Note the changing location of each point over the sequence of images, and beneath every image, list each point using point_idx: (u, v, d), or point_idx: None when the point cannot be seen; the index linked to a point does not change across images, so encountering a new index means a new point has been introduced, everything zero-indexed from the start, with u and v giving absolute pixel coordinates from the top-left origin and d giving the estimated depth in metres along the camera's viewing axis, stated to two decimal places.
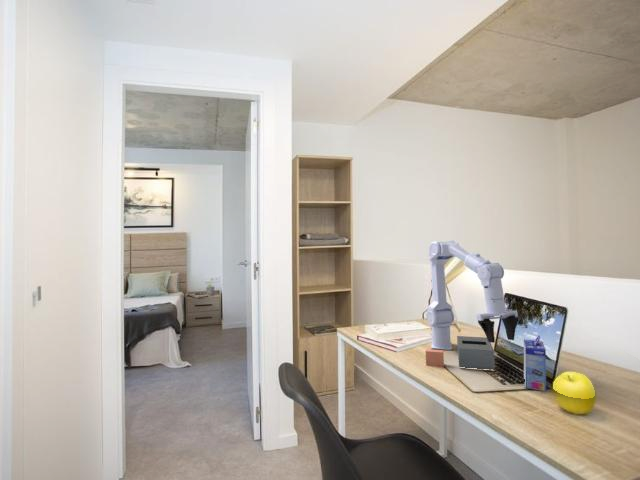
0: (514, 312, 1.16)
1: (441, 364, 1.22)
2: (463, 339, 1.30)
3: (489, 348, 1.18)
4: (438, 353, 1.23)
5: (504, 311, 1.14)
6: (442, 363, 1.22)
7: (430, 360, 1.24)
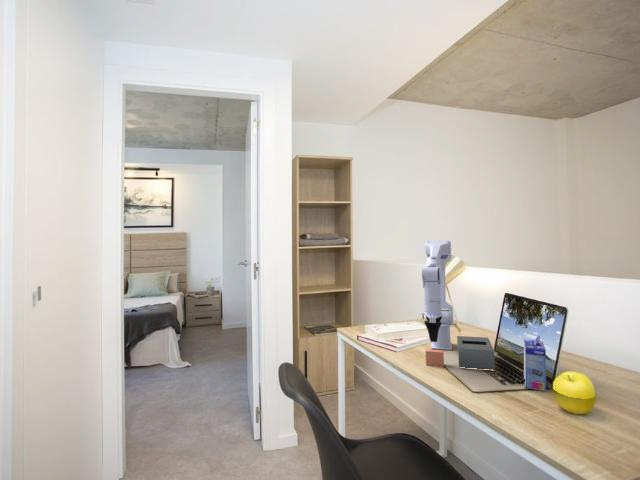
0: (429, 317, 1.19)
1: (441, 364, 1.22)
2: (463, 339, 1.30)
3: (489, 348, 1.18)
4: (438, 353, 1.23)
5: (425, 311, 1.25)
6: (442, 363, 1.22)
7: (430, 360, 1.24)
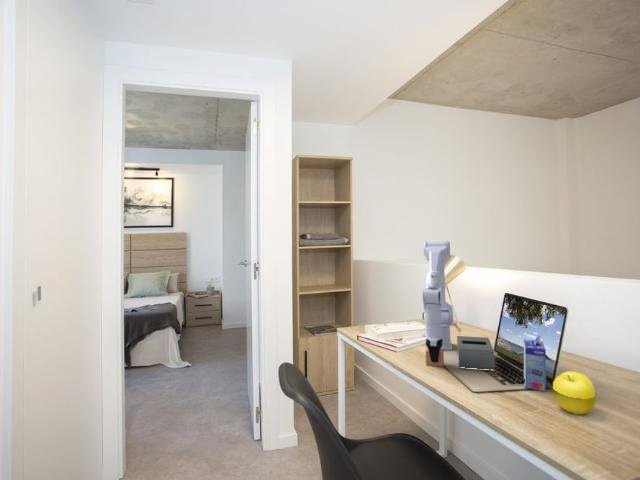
0: (429, 340, 1.19)
1: (441, 364, 1.22)
2: (463, 339, 1.30)
3: (489, 348, 1.18)
4: None
5: None
6: (442, 363, 1.22)
7: (430, 360, 1.24)
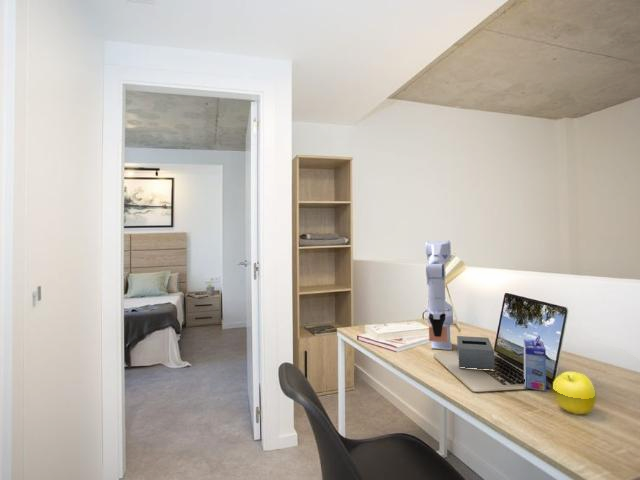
0: (433, 314, 1.19)
1: (444, 339, 1.22)
2: (463, 339, 1.30)
3: (489, 348, 1.18)
4: None
5: (428, 308, 1.25)
6: (445, 338, 1.22)
7: (433, 336, 1.24)
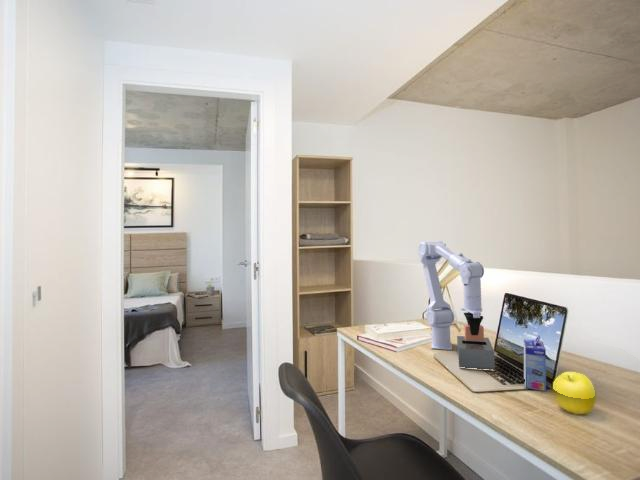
0: (472, 312, 1.20)
1: (481, 338, 1.24)
2: (463, 339, 1.30)
3: (489, 348, 1.18)
4: None
5: (465, 307, 1.25)
6: (482, 337, 1.24)
7: (470, 335, 1.25)
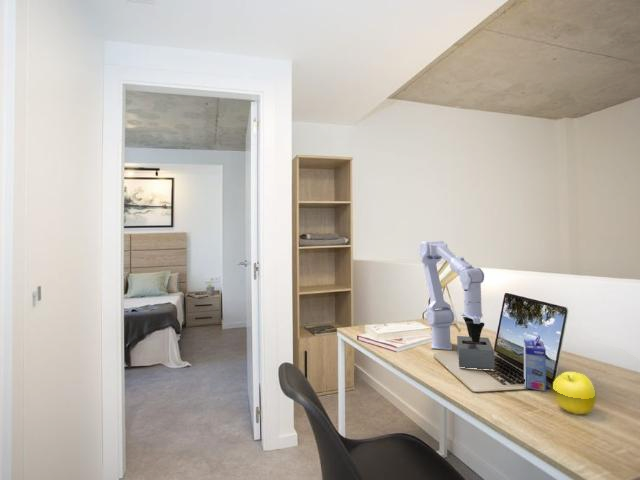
0: (472, 318, 1.20)
1: None
2: (463, 339, 1.30)
3: (489, 348, 1.18)
4: None
5: (465, 313, 1.25)
6: None
7: None
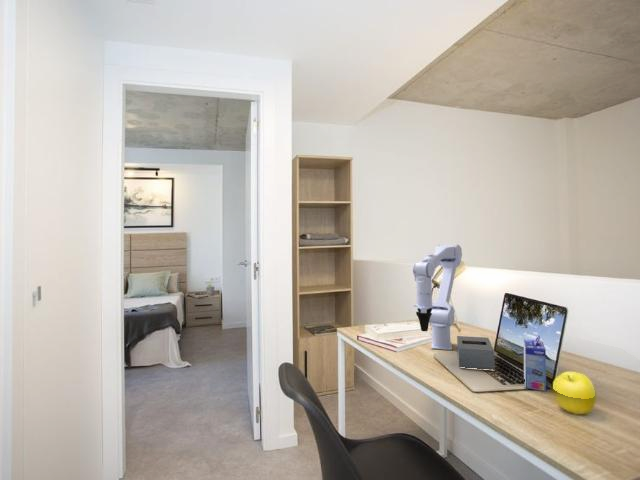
0: (420, 308, 1.29)
1: None
2: (463, 339, 1.30)
3: (489, 348, 1.18)
4: None
5: None
6: None
7: None
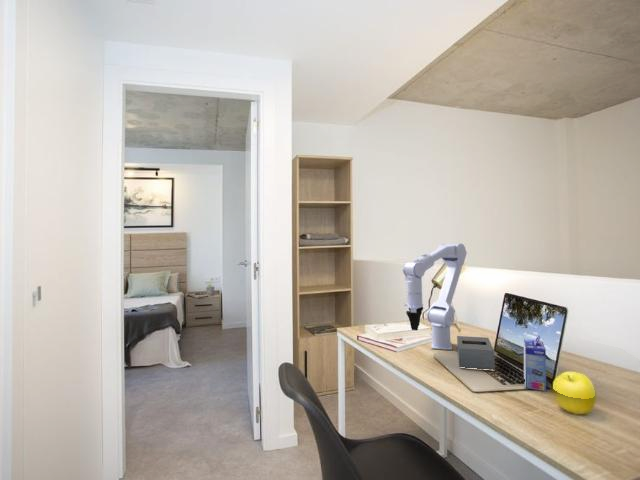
0: (410, 307, 1.31)
1: None
2: (463, 339, 1.30)
3: (489, 348, 1.18)
4: None
5: (407, 303, 1.36)
6: None
7: None
